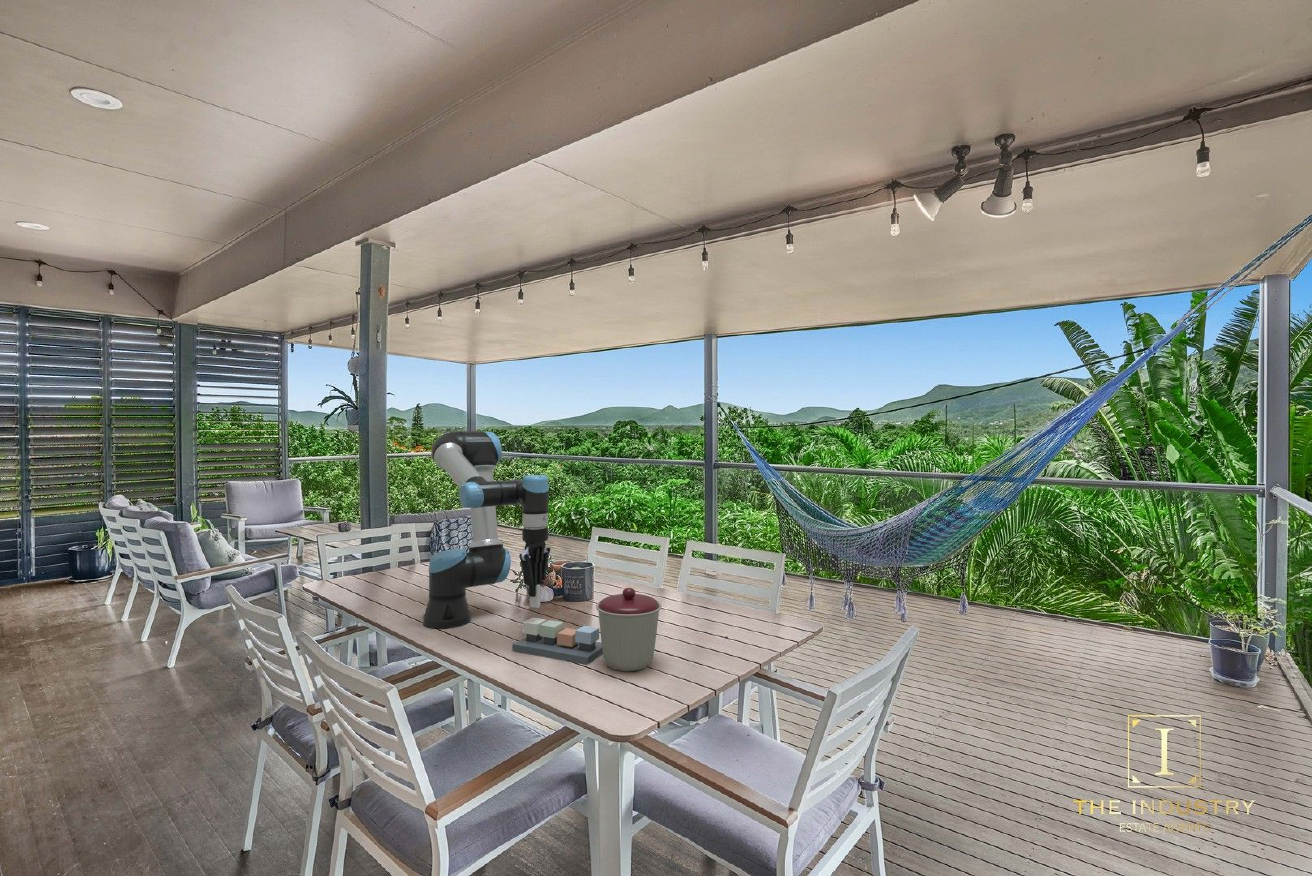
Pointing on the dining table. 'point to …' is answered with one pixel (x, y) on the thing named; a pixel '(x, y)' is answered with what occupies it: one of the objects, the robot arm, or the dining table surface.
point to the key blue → (587, 635)
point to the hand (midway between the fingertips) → (535, 606)
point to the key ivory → (532, 626)
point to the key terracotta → (566, 637)
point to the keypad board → (558, 649)
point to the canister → (628, 629)
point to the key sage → (551, 628)
